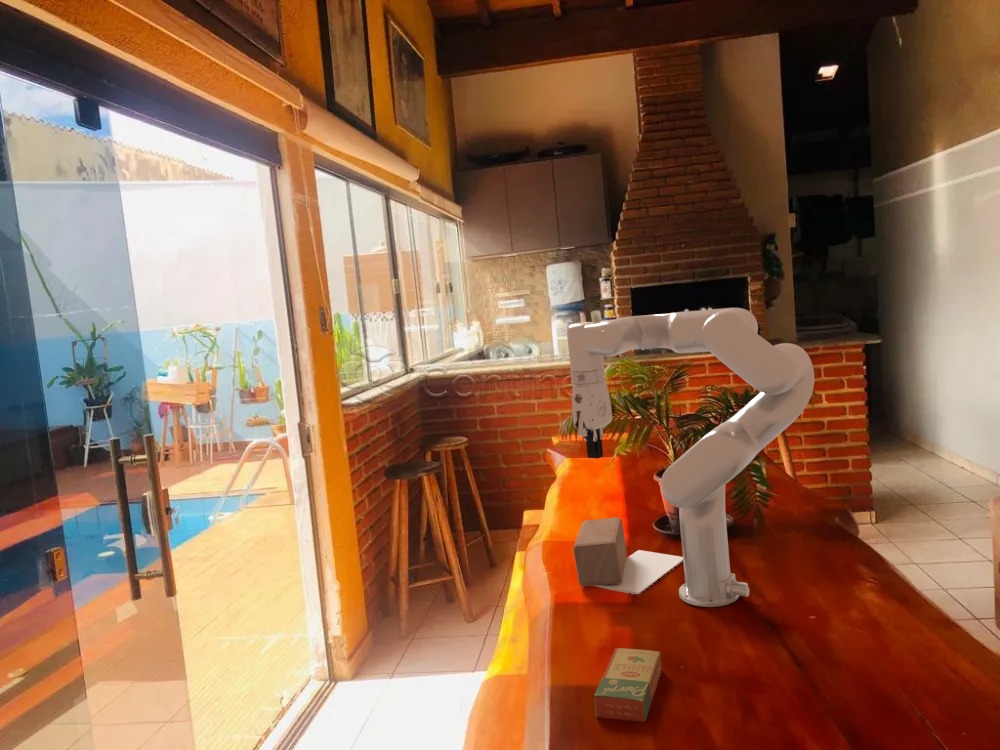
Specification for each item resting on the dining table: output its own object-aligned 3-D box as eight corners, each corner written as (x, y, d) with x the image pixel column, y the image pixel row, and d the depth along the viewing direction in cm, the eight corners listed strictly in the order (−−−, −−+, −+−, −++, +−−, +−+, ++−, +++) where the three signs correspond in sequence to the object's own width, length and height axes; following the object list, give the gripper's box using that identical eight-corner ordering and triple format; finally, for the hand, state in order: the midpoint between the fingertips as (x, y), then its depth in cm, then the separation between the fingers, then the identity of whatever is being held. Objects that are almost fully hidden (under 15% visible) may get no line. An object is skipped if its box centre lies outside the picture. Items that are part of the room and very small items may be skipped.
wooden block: (615, 541, 170) (621, 515, 189) (571, 545, 172) (581, 519, 192) (622, 584, 171) (627, 554, 190) (579, 588, 173) (588, 558, 192)
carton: (663, 672, 135) (661, 650, 134) (646, 725, 120) (643, 699, 120) (616, 668, 138) (614, 646, 137) (594, 718, 123) (592, 694, 123)
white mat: (685, 559, 184) (685, 557, 183) (638, 595, 167) (638, 592, 167) (638, 552, 192) (638, 549, 192) (589, 585, 175) (589, 582, 175)
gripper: (585, 383, 162) (593, 466, 164) (618, 372, 173) (625, 450, 176) (555, 383, 166) (563, 464, 169) (590, 372, 178) (597, 448, 180)
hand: (595, 457), depth 172 cm, fingers closed
